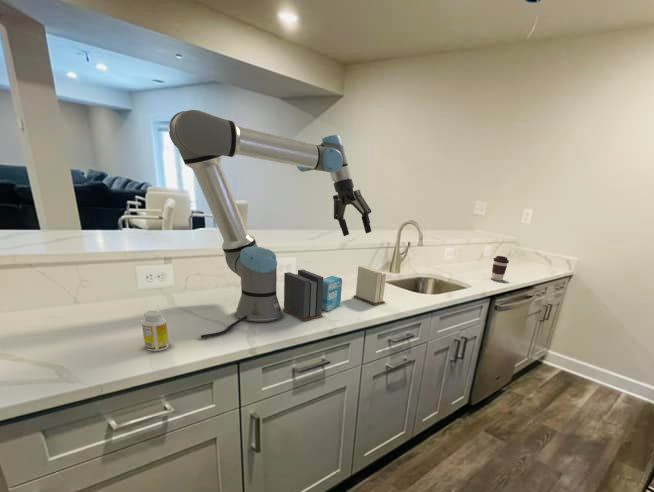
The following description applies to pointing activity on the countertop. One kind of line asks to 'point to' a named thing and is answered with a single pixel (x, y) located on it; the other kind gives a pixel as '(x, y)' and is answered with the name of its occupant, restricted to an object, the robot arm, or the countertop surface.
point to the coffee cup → (499, 267)
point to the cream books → (370, 285)
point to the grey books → (303, 294)
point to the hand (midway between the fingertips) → (357, 234)
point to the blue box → (331, 292)
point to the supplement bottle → (155, 331)
